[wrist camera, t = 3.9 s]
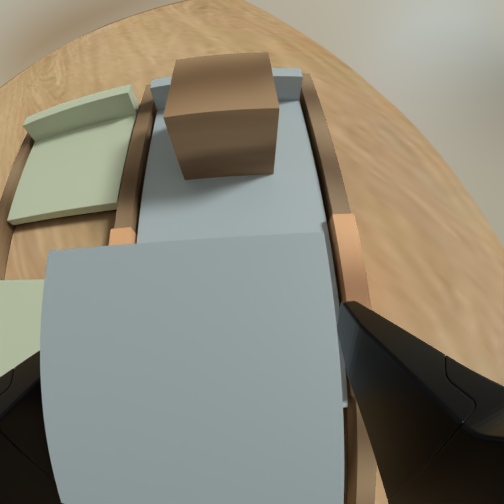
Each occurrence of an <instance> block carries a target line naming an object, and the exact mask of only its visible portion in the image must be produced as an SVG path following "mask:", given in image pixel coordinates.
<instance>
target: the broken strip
mask: <svg viewBox="0 0 504 504" xmlns="http://www.w3.org/2000/svg"><path fill="white" fill-rule="evenodd" d="M139 108H140V106H139V104H138V101H137V99H136V96H135V93H134V91H133V88H132V85H131V84H129V85H125V86H121V87H117V88H113V89H109V90H105V91H101V92H98V93H94V94H91V95H87V96H84V97H81V98H78V99H75V100H71V101H68V102H65V103H63V104H60V105H57V106H54V107H51V108H49V109H46V110H44V111H41V112H38V113H36V114H33V115H31V116H29V117H27V118H26V120H25V122H24V124H23V127H24V128H25V129H26V131H27V132H28V133H29V135H30V136H31V137H32V138H33V140H34V141H35V143H34V145H33V147H32V150H31V152H30V154H29V157H28V159H27V162H26V164H25V167H24V170H23V172H22V175H21V178H20V181H19V183H18V186H17V189H16V192H15V196H14V199H13V202H12V205H11V209H10V212H9V216H8V219H7V221H8V222H10V223H11V224H12V225H17V224H23V223H28V222H34V221H40V220H46V219H52V218H58V217H65V216H72V215H79V214H86V213H93V212H101V211H108V210H116V209H117V206H118V200H119V194H120V189H121V183H122V178H123V173H124V168H125V164H126V159H127V155H128V150H129V146H130V142H131V138H132V134H133V130H134V126H135V122H136V119H137V115H138V112H139ZM44 280H45V279H42V280H0V377H1V376H2V375H4V374H5V373H7V372H8V371H10V370H11V369H13V368H15V367H16V366H17V365H19V364H20V363H22V362H23V361H24V360H26V359H27V358H29V357H30V356H32V355H33V354H35V353H36V352H38V351H39V350H40V330H41V312H42V299H43V289H44Z"/></svg>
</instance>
